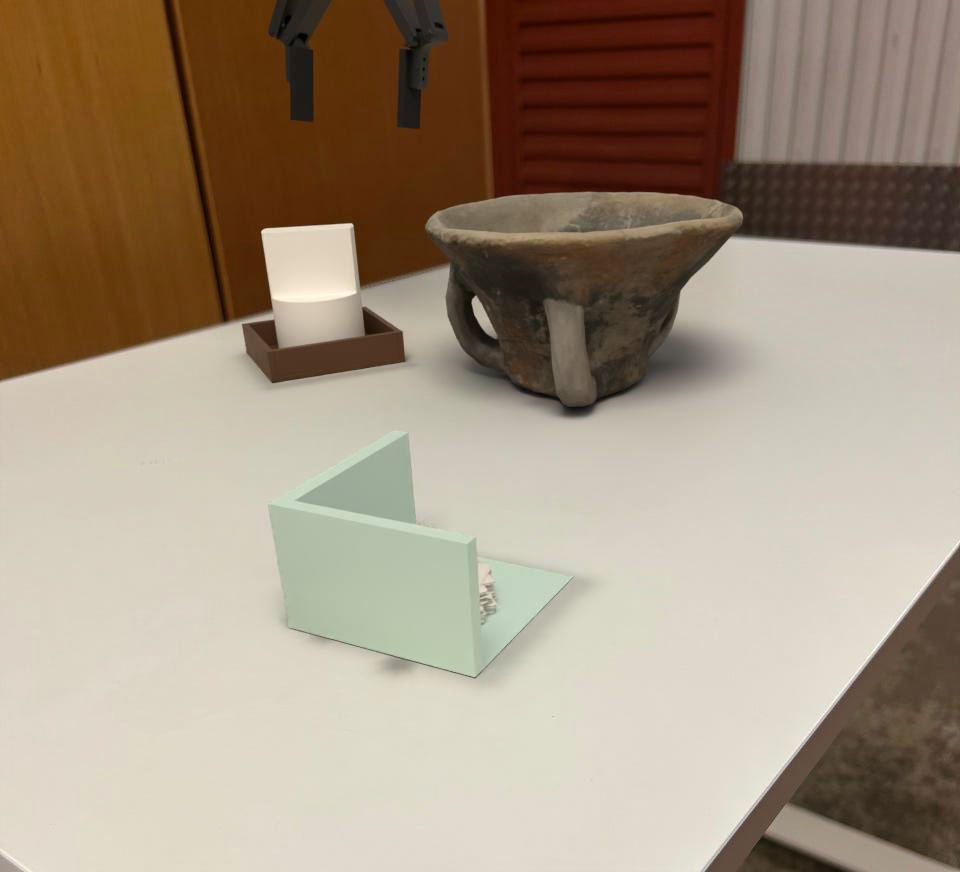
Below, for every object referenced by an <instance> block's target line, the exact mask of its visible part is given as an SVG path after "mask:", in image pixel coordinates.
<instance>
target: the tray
mask: <svg viewBox="0 0 960 872" xmlns="http://www.w3.org/2000/svg"><path fill="white" fill-rule="evenodd" d="M362 311H363V321H364V330H365V336H360V337H353V338H346V339H340V340H333V341H326V342H320V343H313V344H306V345H300V346H293V347H286V348H280V349H279V347H278V340H277V334H276V327H275V321H274V318H273V319H267V320H260V321H252V322H246V323H241V328H242V333H243V339H244V345H245V351H246V354H247V355H248V356H249V357H250V358H251V360H253V362H254V363H255V364H256V365H257V366H258V368H259V369H260V370H261V371H262V373H263V374H264V375H265V376H266V377H267V378H268V380H269V381H270V382H271V383H273V384H274V383H278V382H284V381H285V382H286V381H291V380H297V379H304V378H309V377H317V376H323V375H329V374H335V373H336V374H337V373H341V372H349V371H353V370H361V369H366V368H374V367H380V366H385V365H392V364H397V363H404V362H406V354H405V343H404V332H403V331H402V330H401V329H400V328H398V327H397V326H395V325H393V323H390V322H389V321H388V320H386V319H385V318H384V317H382V316H381V315H379V314H377V313H376V312H375V311H373V310H372V309H370V308H368V307H367V306H362Z"/></svg>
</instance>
